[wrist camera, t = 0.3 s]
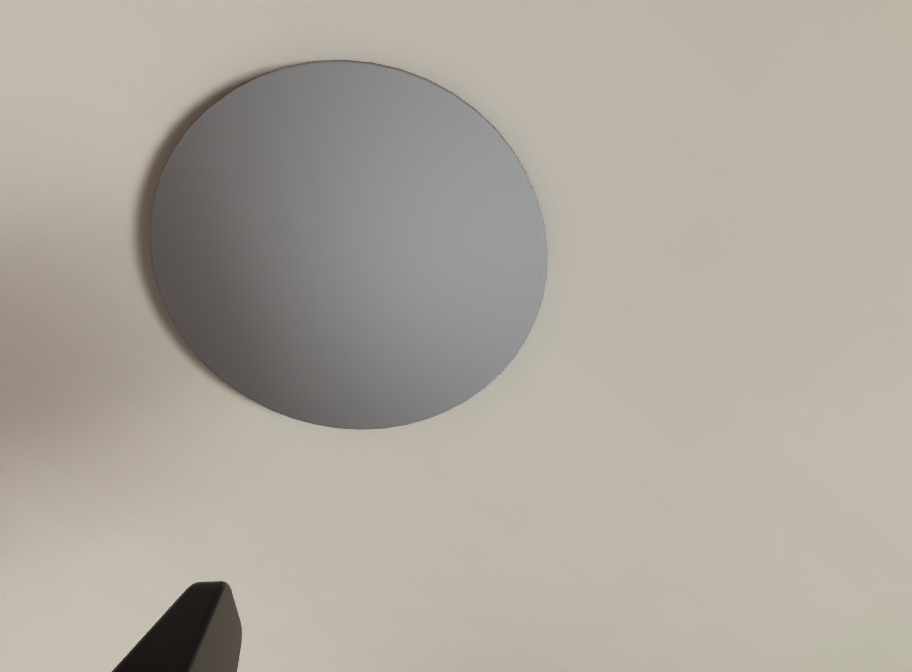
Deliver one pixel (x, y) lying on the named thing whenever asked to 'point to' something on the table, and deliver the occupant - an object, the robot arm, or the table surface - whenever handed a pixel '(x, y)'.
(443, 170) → the slate mat
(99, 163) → the table surface
